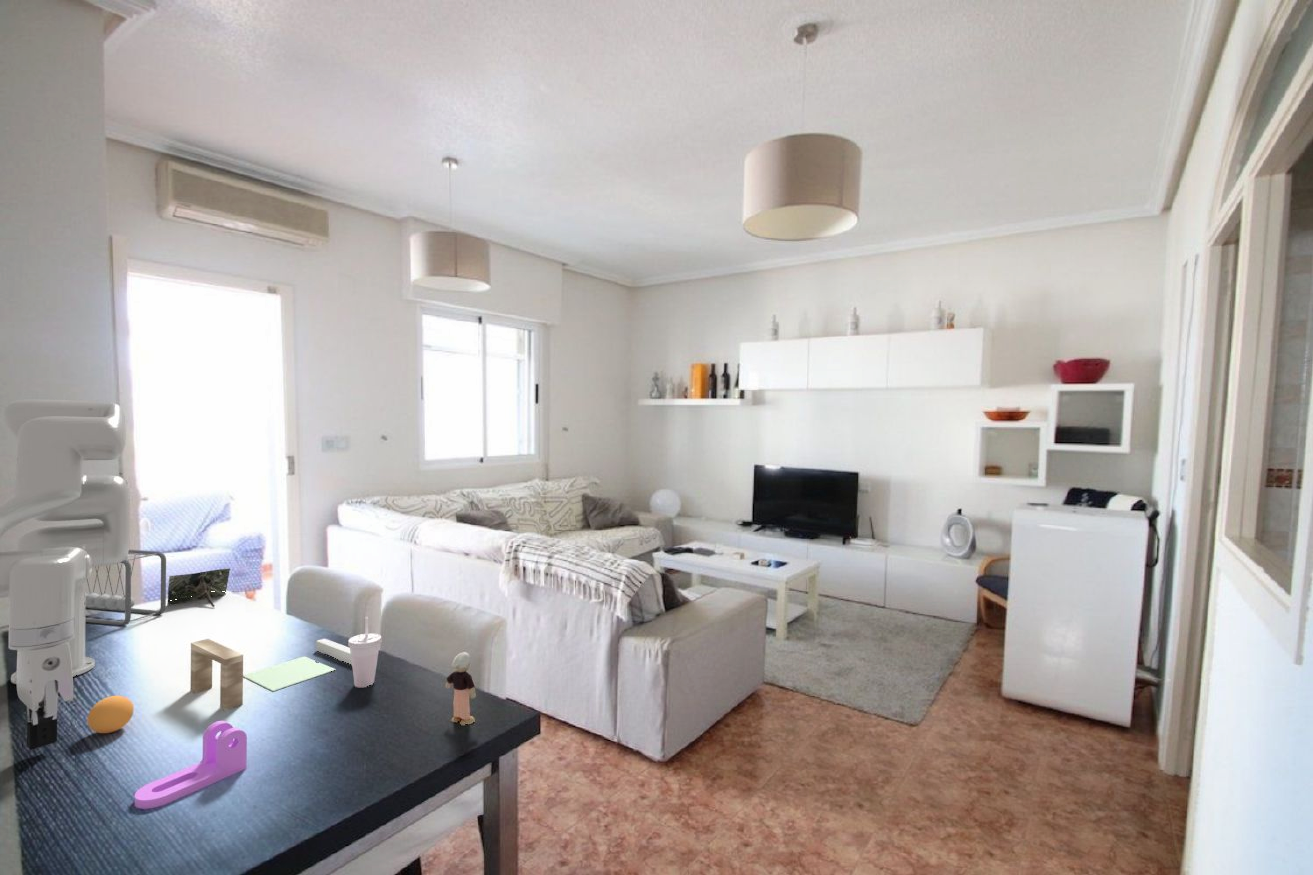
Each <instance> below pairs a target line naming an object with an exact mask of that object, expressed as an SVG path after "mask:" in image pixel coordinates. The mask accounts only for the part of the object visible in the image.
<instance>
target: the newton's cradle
mask: <svg viewBox="0 0 1313 875" xmlns="http://www.w3.org/2000/svg"><path fill="white" fill-rule="evenodd" d="M131 555H133V556H134V557H132V558H127V557H126V559H125V560H124V561H122V562H120V563H117V564H116V565H117V571H118V573H119V574H118V575H119V576H118V579H117V585H116V590H115V594H114V592H113V588H112V583H111V577H110V570H111V565H109V568H108V565H106V571H107V576H106V577H107V579H106V582H105V587H104V593H102V588H101V583H100V579H99V575H98V574H99V569H100V566H96V567H95V572H96V576H95V580H94V585H93V590H92V592H91V588H90V584H89V580H88V578H87V579H86V582H87V586H88V587H87V588H88V590H89V591H88V592H89V593H86V609H90V610H91V609H93V610H101V611H102V610H103V611H112V612H123V613H124V620H123V621H122V620H114V619H104V618H95V617H93V618H92V617H85V623H91V624H102V625H111V626H119V627H121V626H122V627H123V626H126V625H128V624H129V623H131V622H134V621H138V620H141V619H144V618H147V617H151V616H154V615H155V616H159V615H162V614H163V613H164V612H165V611H166V606H167V558H166V555H165V553H163V552H162V551H155V550H153V551H152V550H141V549H129V552H128V557H130V556H131ZM137 555H138V556H137ZM153 556H157V557H159V558H160V608H159V610H155V609H145V608H143V609H142V608H133V607H134V605H135V603H136V602H135V599H134V598H133V597H132V574H133V569H134V566H135V565H134V564H135V560H137V559H142V558H143V559H144V558H147V557H153ZM130 561H133V562H132V565H131V563H130ZM119 564H121V565H120V568H119ZM123 565H124V566H125V567H124V568H125V574H124V575H125V578H124V580H125V581H124V582H125V584H124V585H125V587H124V586H123V582H122V578H121V577H122V576H121V572H122V567H123ZM108 581H109V586H110V590H111V595H110V594H107V593H106V589H107V584H108ZM96 582H98V586H99V591H100V594H98V593H96V592H95V587H96ZM119 582H120V583H121V589H122V594H123V596H121V595H118V594H117V593H118V592H117V591H118V587H119ZM124 591H125V592H124ZM132 613H135V614H145V615H143V616H139V617H137V618H133V619H131V618H132V617H131V615H132Z"/></svg>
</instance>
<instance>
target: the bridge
mask: <svg viewBox="0 0 1313 875" xmlns="http://www.w3.org/2000/svg"><path fill="white" fill-rule="evenodd" d="M213 661H215V662H216V663H219V664H220V673H219V674H220V675H219V676H220V682H219V683H220V684H219V686H220V690H219V691H220V692H219V693H220V694H219V708H220V709H222V710H224V711H227V710H230V709H232V708H235V707H238V706H239V707H240V706H242V705H244V704H243V701H244V699H243V698H244V697H243V696H244V695H243V694H244V690H243V689H244V677H243V675H244V654H243V653H240V652H238V651H236V650H234V649H232V648H229V647H227V646H225V645H223V644H220V643H219V642H217V641H214V640H212V639H209V638H205V639H201V640H198V641H193V642H190V687H189V688H190V691H191V692H192V693H194V694H195V693H199V692H202V691H205V690H208V689H212V688H213Z"/></svg>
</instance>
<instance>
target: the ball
mask: <svg viewBox="0 0 1313 875" xmlns="http://www.w3.org/2000/svg"><path fill="white" fill-rule="evenodd" d="M134 710H135V708H134V704H133V702H132V700H130V699H129V698H128V697H125V696H123V695H112V696H107V697H104V698H102V699H101V700H99V701H98V702H96V703H95V704H94V705H93V706H92V707H91V709H89V713H88V715H87V720H86V721H87V724H88V727H89V728H90V730H92V731H93V732H94V733H98V734H110V733H113V732H116V731H119V730H120V729H122V728H123V727H125V726H126V725H127V724H128V723H129V721H131V719H132V718H133V715H134Z"/></svg>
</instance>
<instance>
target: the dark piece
mask: <svg viewBox="0 0 1313 875" xmlns="http://www.w3.org/2000/svg"><path fill="white" fill-rule="evenodd" d="M230 571H231V568H220V569H212V570H207V571H200V572H196V573H195V572H194V573H187V574H176V575H175V574H174V575H169V579H168V587H167V602H166V606H172V605H176V604H182V603H187V602H193V601H199V600H203V599H206V600H207V602H208V603H209V604H210V605H211V607H212V608H215V607H216V606H215V604H214V602H213V600H212V598H214V597H220V596H224V595H227V589H228V581H229V577H230ZM211 591H215V592H211ZM222 591H225V592H226V593H225V592H222ZM191 596H192V597H191ZM175 599H177V600H175ZM170 600H172V601H170Z"/></svg>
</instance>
